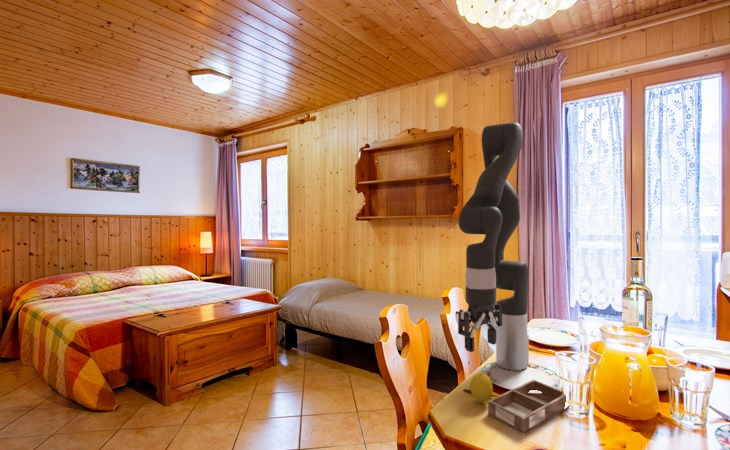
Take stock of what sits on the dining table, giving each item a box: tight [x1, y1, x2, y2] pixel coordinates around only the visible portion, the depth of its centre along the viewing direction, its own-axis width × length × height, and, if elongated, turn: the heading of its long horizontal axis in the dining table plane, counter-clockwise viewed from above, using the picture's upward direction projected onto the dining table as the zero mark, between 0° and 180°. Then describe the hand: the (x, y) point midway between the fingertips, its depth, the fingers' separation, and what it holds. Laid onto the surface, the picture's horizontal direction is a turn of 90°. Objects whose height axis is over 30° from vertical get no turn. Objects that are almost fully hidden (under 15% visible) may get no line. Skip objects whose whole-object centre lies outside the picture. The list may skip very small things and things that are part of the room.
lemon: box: [469, 371, 494, 404], centre depth 98 cm, size 6×6×8 cm
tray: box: [487, 379, 566, 435], centre depth 94 cm, size 19×10×4 cm, turn 124°
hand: (481, 347), depth 98 cm, fingers open, 8 cm apart
